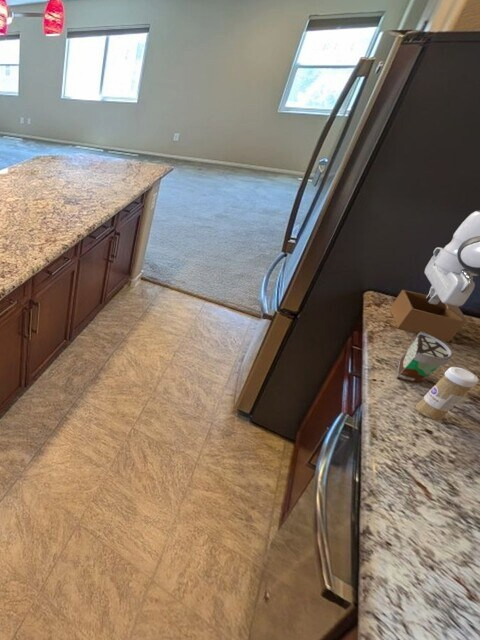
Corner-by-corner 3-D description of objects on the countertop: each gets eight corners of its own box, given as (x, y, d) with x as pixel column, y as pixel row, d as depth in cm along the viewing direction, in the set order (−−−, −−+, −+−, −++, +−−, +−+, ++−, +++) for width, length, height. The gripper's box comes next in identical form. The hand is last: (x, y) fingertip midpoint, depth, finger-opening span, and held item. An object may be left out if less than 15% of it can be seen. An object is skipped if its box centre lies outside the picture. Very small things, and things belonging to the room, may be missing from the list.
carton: (437, 319, 121) (452, 301, 117) (449, 342, 113) (465, 322, 109) (389, 307, 127) (402, 289, 123) (397, 328, 118) (411, 309, 114)
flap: (452, 299, 117) (453, 299, 117) (465, 320, 109) (467, 320, 108) (435, 288, 118) (436, 287, 118) (447, 308, 110) (448, 307, 110)
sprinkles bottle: (409, 403, 95) (443, 364, 88) (431, 406, 94) (467, 367, 87) (425, 419, 91) (461, 380, 84) (447, 422, 90) (486, 383, 83)
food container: (429, 395, 97) (454, 367, 92) (395, 381, 101) (418, 353, 96) (431, 369, 104) (455, 342, 99) (399, 357, 108) (420, 330, 103)
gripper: (491, 283, 100) (457, 324, 107) (464, 250, 114) (436, 288, 121) (456, 276, 103) (425, 316, 110) (434, 245, 117) (408, 282, 124)
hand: (431, 301), depth 115 cm, fingers closed
